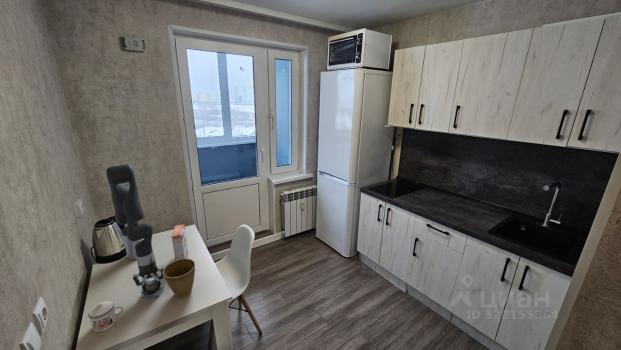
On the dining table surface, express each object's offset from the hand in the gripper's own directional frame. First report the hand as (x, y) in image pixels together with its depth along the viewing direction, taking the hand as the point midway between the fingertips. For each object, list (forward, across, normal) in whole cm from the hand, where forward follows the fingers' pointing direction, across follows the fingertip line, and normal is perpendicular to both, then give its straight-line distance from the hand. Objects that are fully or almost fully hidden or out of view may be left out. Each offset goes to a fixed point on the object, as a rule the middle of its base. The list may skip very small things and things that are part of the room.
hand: (152, 287), depth 133 cm
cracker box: (+3, -16, -25) cm, 30 cm away
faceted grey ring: (+3, 0, 0) cm, 3 cm away
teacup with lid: (+3, +17, +12) cm, 21 cm away
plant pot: (+3, -14, +8) cm, 16 cm away
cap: (+1, 0, 0) cm, 1 cm away
